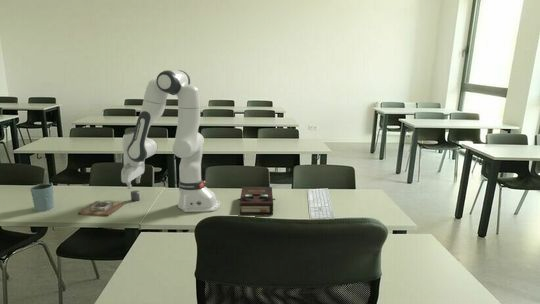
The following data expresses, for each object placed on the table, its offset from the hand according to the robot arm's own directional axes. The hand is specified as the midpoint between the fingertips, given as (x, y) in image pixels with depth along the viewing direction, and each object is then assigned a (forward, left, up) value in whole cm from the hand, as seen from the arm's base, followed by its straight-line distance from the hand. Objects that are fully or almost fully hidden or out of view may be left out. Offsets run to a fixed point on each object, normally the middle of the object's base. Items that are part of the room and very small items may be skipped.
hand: (134, 185), depth 208 cm
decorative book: (-68, -2, -9) cm, 69 cm away
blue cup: (+41, +18, -9) cm, 45 cm away
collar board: (+11, +15, -8) cm, 20 cm away
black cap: (0, 0, -8) cm, 8 cm away
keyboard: (-102, -10, -9) cm, 103 cm away
